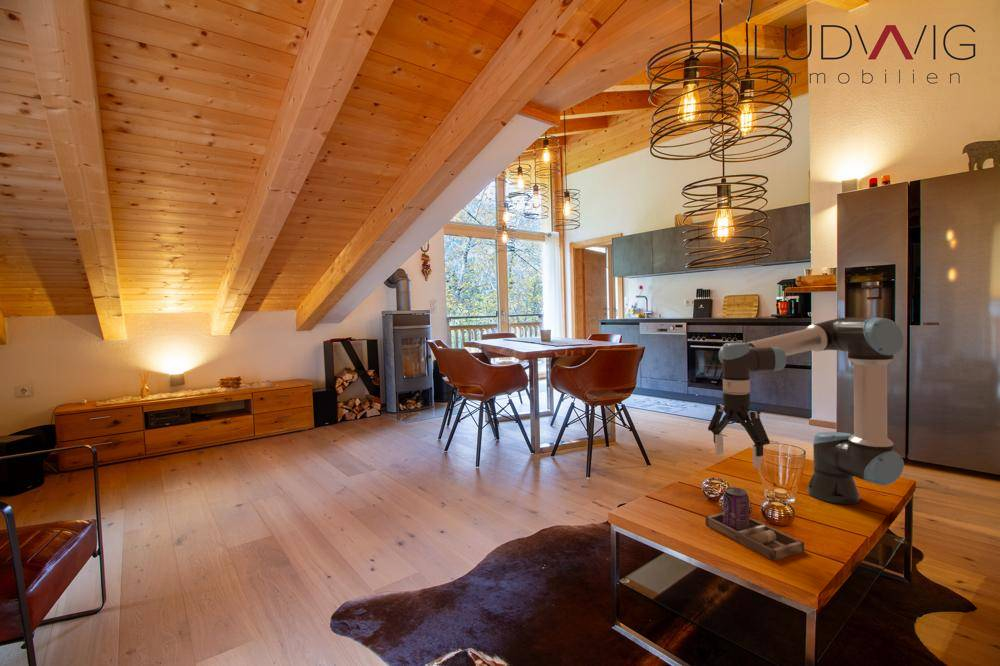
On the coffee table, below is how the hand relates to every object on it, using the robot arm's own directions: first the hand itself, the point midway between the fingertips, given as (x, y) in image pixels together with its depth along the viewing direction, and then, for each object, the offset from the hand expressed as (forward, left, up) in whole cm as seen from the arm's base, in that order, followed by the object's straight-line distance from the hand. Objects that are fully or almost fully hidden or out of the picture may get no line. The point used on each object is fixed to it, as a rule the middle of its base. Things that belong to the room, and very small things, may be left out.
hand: (737, 459), depth 143 cm
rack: (+3, +8, -21) cm, 23 cm away
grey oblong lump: (+3, +13, -19) cm, 24 cm away
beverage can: (+3, +2, -21) cm, 21 cm away
